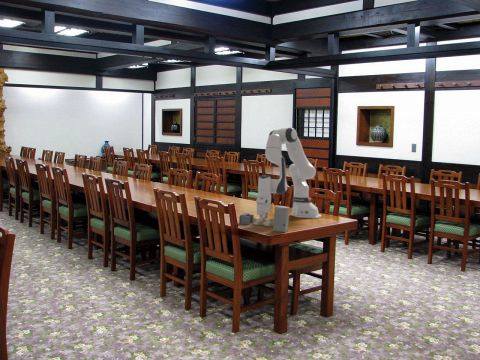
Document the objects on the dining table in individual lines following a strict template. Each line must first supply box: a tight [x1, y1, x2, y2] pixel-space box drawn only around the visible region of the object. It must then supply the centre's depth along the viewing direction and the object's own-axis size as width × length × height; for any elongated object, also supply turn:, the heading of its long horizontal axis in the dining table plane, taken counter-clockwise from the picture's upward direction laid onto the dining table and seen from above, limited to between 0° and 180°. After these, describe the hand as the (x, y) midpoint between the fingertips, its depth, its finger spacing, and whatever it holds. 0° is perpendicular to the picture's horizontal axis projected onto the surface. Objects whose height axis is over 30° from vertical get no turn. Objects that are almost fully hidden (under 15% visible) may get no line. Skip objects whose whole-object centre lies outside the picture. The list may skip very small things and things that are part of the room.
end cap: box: [238, 212, 255, 225], centre depth 346 cm, size 7×9×6 cm
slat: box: [252, 216, 274, 227], centre depth 342 cm, size 14×4×4 cm, turn 69°
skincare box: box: [272, 205, 290, 233], centre depth 323 cm, size 8×7×16 cm
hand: (264, 219), depth 342 cm, fingers open, 8 cm apart
